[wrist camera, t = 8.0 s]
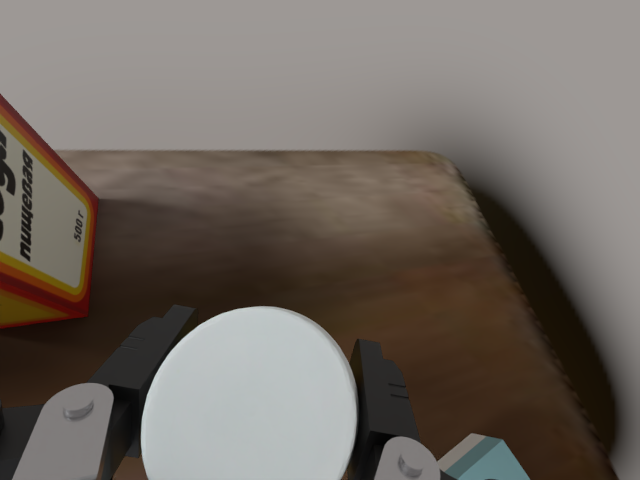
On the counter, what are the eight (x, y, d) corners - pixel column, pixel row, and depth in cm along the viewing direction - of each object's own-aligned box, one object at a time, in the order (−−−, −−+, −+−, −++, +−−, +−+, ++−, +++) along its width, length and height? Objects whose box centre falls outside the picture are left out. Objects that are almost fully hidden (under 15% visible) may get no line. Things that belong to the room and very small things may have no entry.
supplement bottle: (294, 499, 14) (326, 684, 5) (177, 439, 14) (15, 515, 5) (344, 368, 16) (426, 340, 7) (241, 319, 16) (202, 236, 8)
